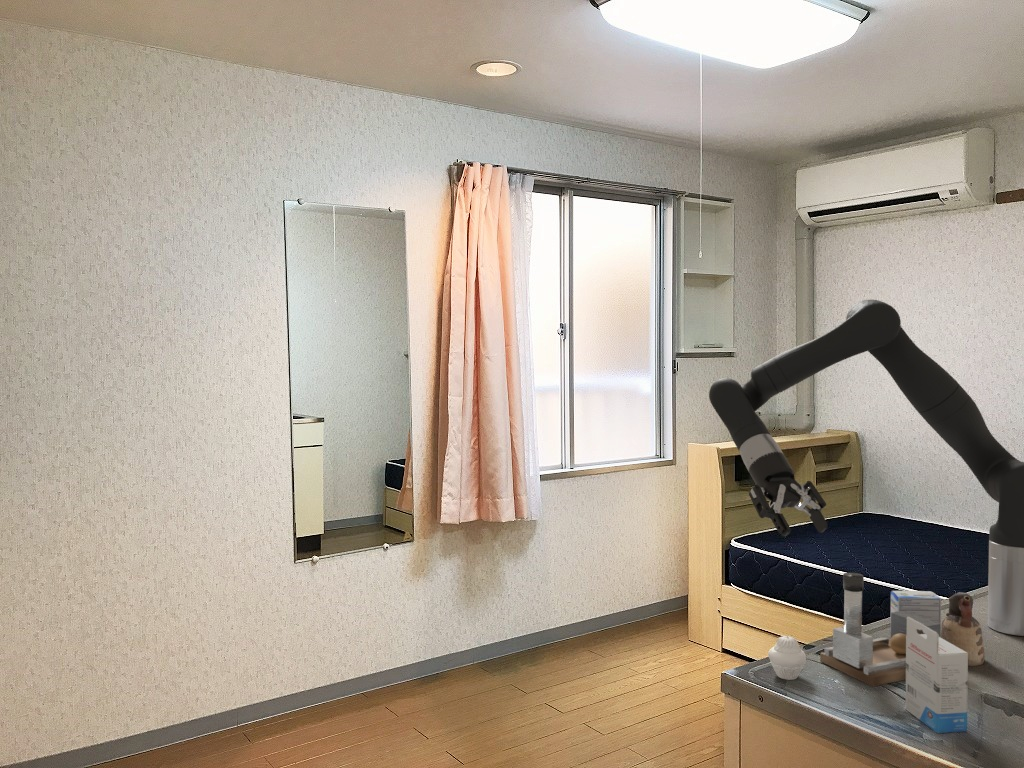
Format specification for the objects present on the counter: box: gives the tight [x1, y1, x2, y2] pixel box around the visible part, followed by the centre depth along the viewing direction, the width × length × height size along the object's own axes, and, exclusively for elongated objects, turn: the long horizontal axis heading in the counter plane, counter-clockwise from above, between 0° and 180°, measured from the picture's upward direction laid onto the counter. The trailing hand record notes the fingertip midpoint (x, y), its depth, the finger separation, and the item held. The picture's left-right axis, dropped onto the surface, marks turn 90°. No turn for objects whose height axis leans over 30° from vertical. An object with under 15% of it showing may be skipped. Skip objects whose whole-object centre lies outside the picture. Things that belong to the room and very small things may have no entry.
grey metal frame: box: [824, 611, 942, 675], centre depth 146 cm, size 18×10×6 cm, turn 112°
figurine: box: [941, 591, 985, 667], centre depth 149 cm, size 7×7×12 cm
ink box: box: [905, 617, 969, 734], centre depth 124 cm, size 9×5×15 cm, turn 5°
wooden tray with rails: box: [819, 633, 907, 687], centre depth 146 cm, size 18×12×5 cm, turn 112°
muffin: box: [767, 635, 807, 681], centre depth 141 cm, size 6×6×7 cm
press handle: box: [832, 572, 874, 669], centre depth 143 cm, size 3×6×15 cm, turn 22°
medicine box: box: [889, 590, 942, 637], centre depth 159 cm, size 8×4×9 cm, turn 84°
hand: (805, 532), depth 153 cm, fingers open, 8 cm apart
